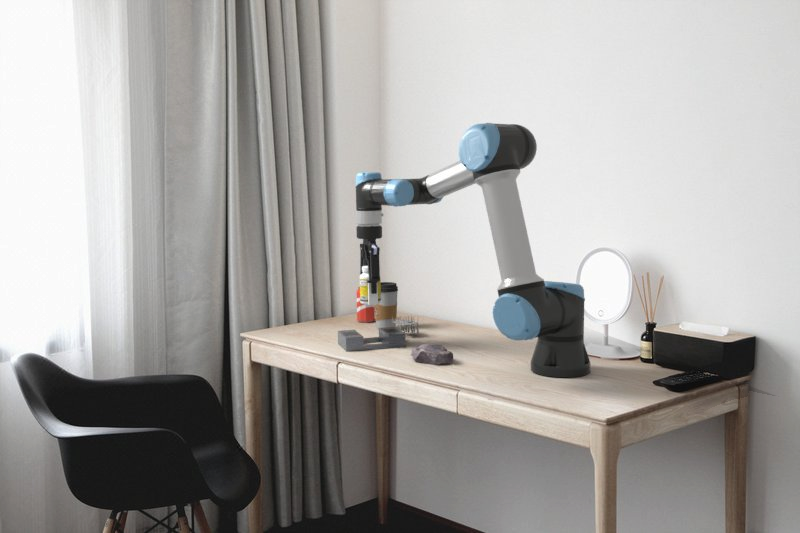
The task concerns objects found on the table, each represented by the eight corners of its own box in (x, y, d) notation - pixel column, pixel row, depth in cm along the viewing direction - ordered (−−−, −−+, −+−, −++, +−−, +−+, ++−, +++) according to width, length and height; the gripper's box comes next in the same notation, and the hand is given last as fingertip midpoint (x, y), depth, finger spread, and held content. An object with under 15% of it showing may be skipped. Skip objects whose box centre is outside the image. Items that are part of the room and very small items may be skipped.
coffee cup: (369, 327, 275) (368, 283, 274) (392, 325, 279) (391, 281, 277) (379, 332, 268) (378, 286, 266) (402, 329, 271) (402, 284, 270)
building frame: (408, 332, 267) (408, 314, 266) (421, 337, 260) (421, 318, 259) (391, 335, 264) (391, 316, 263) (404, 339, 257) (404, 320, 256)
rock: (440, 367, 220) (440, 351, 220) (407, 361, 227) (407, 345, 227) (458, 362, 226) (458, 346, 226) (425, 356, 234) (425, 340, 233)
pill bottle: (382, 301, 250) (381, 265, 248) (379, 305, 244) (379, 267, 242) (361, 301, 250) (361, 265, 249) (358, 304, 244) (357, 267, 243)
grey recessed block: (405, 346, 246) (405, 333, 245) (346, 351, 241) (345, 337, 240) (395, 339, 256) (394, 326, 256) (338, 343, 251) (337, 330, 251)
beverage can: (367, 319, 291) (366, 285, 290) (378, 321, 286) (377, 287, 285) (353, 321, 287) (352, 287, 286) (364, 324, 282) (363, 289, 281)
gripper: (390, 226, 236) (391, 307, 239) (373, 222, 254) (374, 297, 257) (364, 227, 234) (366, 308, 237) (349, 223, 252) (350, 298, 255)
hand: (370, 302), depth 247 cm, fingers closed on pill bottle, 6 cm apart
